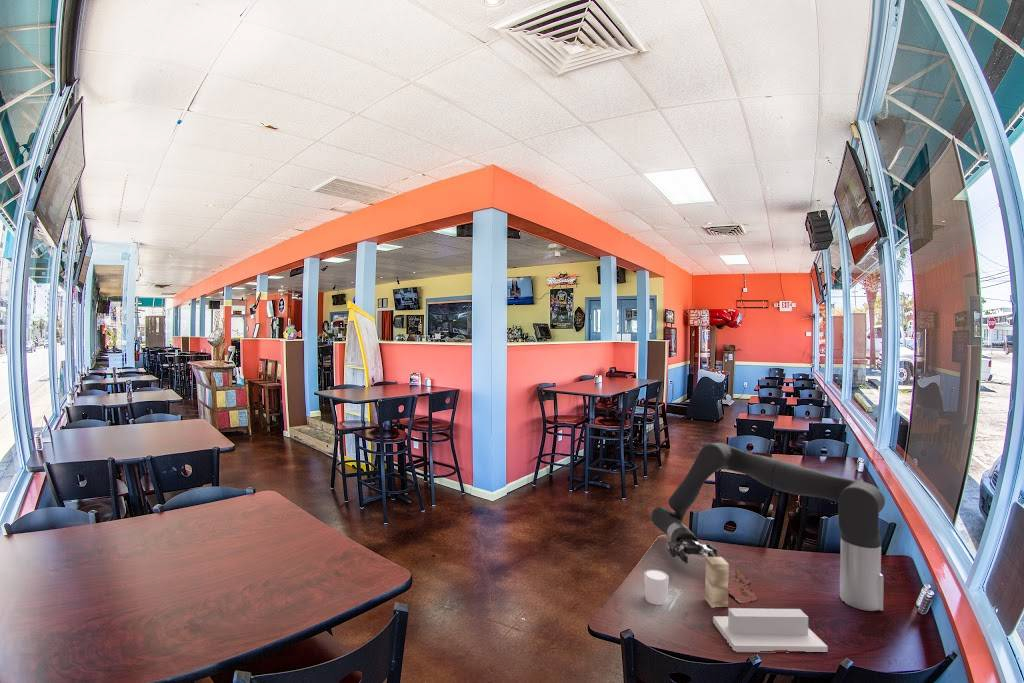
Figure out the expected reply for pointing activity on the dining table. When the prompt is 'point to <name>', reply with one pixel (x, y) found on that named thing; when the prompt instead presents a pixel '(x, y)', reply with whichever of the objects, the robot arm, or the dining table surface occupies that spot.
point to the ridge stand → (768, 630)
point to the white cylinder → (656, 586)
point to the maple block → (716, 582)
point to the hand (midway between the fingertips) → (700, 560)
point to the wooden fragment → (740, 588)
